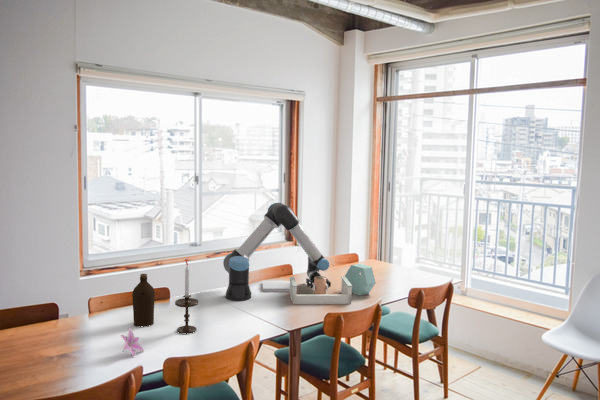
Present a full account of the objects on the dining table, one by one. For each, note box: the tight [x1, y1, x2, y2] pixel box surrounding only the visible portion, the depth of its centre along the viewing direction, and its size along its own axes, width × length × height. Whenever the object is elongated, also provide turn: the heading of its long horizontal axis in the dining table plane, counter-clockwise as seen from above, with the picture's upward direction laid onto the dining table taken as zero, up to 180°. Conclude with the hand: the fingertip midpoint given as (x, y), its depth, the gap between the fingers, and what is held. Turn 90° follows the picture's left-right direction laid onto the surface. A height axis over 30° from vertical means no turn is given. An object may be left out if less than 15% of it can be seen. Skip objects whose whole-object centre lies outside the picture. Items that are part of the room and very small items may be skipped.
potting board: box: [261, 280, 290, 293], centre depth 314 cm, size 18×18×2 cm
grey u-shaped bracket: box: [289, 276, 353, 305], centre depth 293 cm, size 35×20×11 cm, turn 96°
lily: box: [119, 327, 145, 357], centre depth 208 cm, size 12×12×10 cm
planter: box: [344, 263, 376, 297], centre depth 307 cm, size 17×8×21 cm
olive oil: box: [131, 273, 156, 328], centre depth 242 cm, size 11×11×25 cm
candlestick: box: [174, 260, 199, 335], centre depth 234 cm, size 11×11×35 cm
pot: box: [313, 275, 327, 294], centre depth 292 cm, size 7×7×13 cm
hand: (320, 288), depth 289 cm, fingers closed on pot, 7 cm apart
